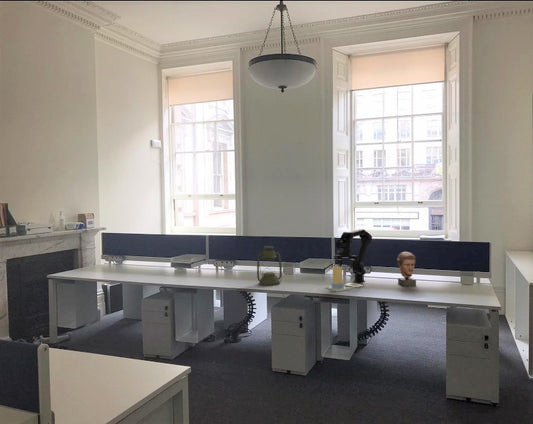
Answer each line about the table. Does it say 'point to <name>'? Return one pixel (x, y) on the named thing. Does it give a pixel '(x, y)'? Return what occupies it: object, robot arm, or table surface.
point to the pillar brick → (337, 275)
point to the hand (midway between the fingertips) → (345, 268)
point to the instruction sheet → (353, 284)
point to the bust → (406, 268)
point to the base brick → (337, 286)
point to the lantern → (269, 277)
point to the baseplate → (337, 289)
